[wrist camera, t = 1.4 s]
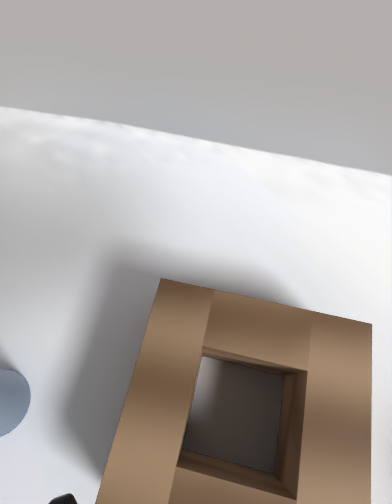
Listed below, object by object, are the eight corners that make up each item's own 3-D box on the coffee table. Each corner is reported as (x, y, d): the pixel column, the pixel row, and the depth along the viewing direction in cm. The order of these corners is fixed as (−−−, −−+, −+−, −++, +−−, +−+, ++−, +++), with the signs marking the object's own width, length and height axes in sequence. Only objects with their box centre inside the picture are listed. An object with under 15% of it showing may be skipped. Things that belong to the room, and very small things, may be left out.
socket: (324, 559, 17) (369, 619, 13) (115, 496, 18) (87, 531, 14) (336, 338, 22) (371, 324, 17) (168, 300, 23) (160, 278, 19)
